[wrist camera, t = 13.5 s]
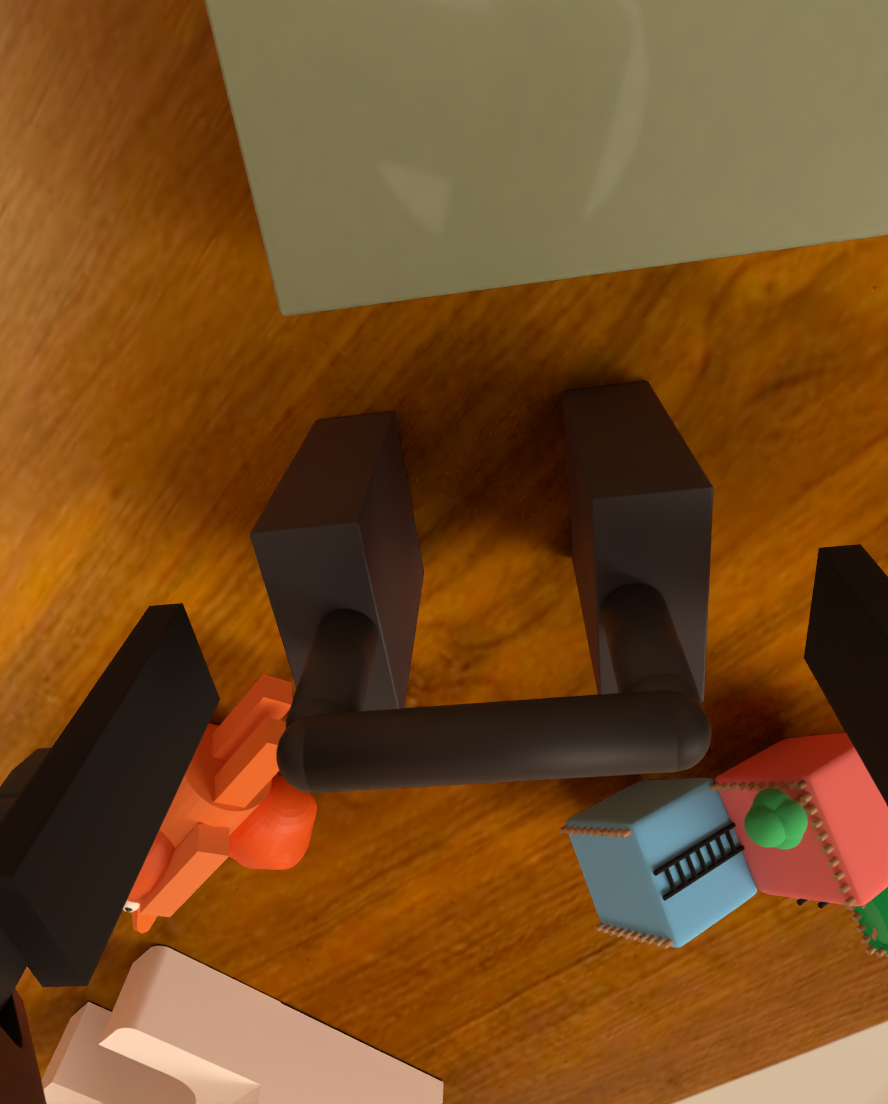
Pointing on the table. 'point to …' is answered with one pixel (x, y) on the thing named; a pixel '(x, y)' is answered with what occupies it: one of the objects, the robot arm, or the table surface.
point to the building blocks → (739, 843)
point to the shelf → (548, 136)
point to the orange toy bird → (227, 808)
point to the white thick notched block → (216, 1048)
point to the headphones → (395, 589)
